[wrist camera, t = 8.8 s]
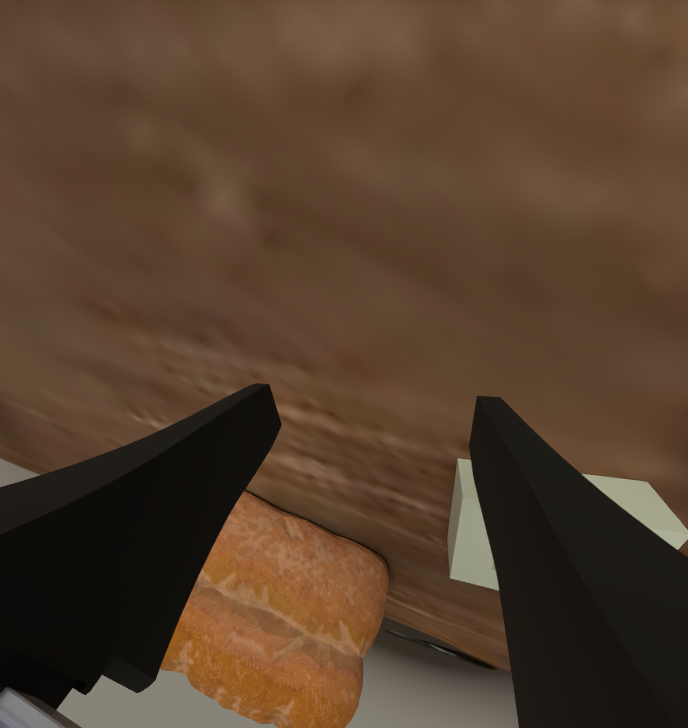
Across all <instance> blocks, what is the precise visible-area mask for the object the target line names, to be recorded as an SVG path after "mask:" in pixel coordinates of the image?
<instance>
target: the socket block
mask: <svg viewBox="0 0 688 728" xmlns="http://www.w3.org/2000/svg"><path fill="white" fill-rule="evenodd" d="M582 475H583V476H584V477H585V478H587V479H588V480H589V481H590V482H591V483H593V484H594V485H595V486H596V487H597V488H598V489H600V490H601V491H602V492H603V493H604V494H606V495H607V496H608V497H609V498H611V499H612V500H613V501H614V502H616V503H617V504H618V505H619V506H621V507H622V508H623V509H624V510H626V511H627V512H628V513H630V514H631V515H632V516H634V517H635V518H636V519H637V520H639V521H640V522H641V523H643V524H644V525H645V526H647V527H648V528H649V529H651V530H652V531H653V532H654V533H656V534H657V535H658V536H660V537H661V538H662V539H664V540H665V541H666V542H668V543H669V544H670V545H672V546H673V547H674V548H676V549H677V550H678V549H679V548H680V547H681V546H682V545H683V544H684V542H685V541H686V540H687V539H688V530H687V529H686V528H685V526H684V525H683V524H682V523H681V522H680V520H679V519H678V518H677V517H676V516H675V515H674V513H673V512H672V511H671V510H670V509H669V507H668V506H667V505H666V504H665V503H664V501H663V500H662V499H661V498H660V497H659V495H658V494H657V493H656V492H655V491H654V489H653V488H652V487H651V486H650V485H649V483H648V482H645V481H637V480H629V479H621V478H613V477H604V476H596V475H588V474H582ZM447 543H448V558H449V572H450V578H452V579H455V580H459V581H463V582H467V583H471V584H475V585H479V586H483V587H487V588H491V589H495V590H499V586H498V580H497V575H496V570H495V565H494V561H493V556H492V552H491V548H490V544H489V540H488V536H487V532H486V528H485V524H484V520H483V516H482V512H481V508H480V504H479V500H478V495H477V491H476V487H475V483H474V479H473V472H472V465H471V460H467V459H459V458H458V459H457V467H456V475H455V482H454V490H453V498H452V505H451V513H450V521H449V528H448V536H447Z"/></svg>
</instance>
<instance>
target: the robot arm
mask: <svg viewBox="0 0 688 728" xmlns="http://www.w3.org/2000/svg"><path fill="white" fill-rule="evenodd" d="M281 425H282V424H281V421H280V418H279V415H278V411H277V408H276V405H275V402H274V398H273V395H272V392H271V389H270V385H269V384H257V383H256V384H253V385H251V386H248V387H246V388H244V389H242V390H240V391H238V392H236V393H234V394H232V395H230V396H228V397H226V398H224V399H222V400H220V401H218V402H216V403H214V404H213V405H211V406H209V407H207V408H205V409H203V410H201V411H199V412H197V413H195V414H193V415H191V416H189V417H187V418H185V419H183V420H181V421H179V422H177V423H175V424H173V425H171V426H169V427H167V428H165V429H163V430H160V431H158V432H156V433H154V434H151V435H149V436H147V437H145V438H142V439H140V440H138V441H135V442H133V443H130V444H128V445H126V446H123V447H121V448H118V449H115V450H113V451H110V452H107V453H104V454H102V455H99V456H96V457H94V458H91V459H88V460H85V461H83V462H80V463H77V464H74V465H71V466H68V467H65V468H62V469H59V470H56V471H53V472H50V473H47V474H44V475H40V476H37V477H34V478H30V479H27V480H24V481H21V482H17V483H14V484H10V485H7V486H3V487H0V728H81V727H80V726H78V725H77V724H75V723H74V722H73V721H71V720H70V719H68V718H67V717H65V716H64V715H62V714H61V713H59V712H58V711H56V709H57V708H58V707H59V705H60V704H61V703H62V701H63V700H64V699H65V697H66V696H67V695H68V693H69V692H70V691H71V689H72V688H74V689H76V690H77V691H79V692H81V693H82V694H84V695H86V694H87V693H89V692H90V691H91V690H92V688H93V687H94V685H95V684H96V682H97V681H98V680H99V678H100V677H101V675H104V676H106V677H108V678H109V679H112V680H113V681H115V682H117V683H119V684H121V685H123V686H125V687H126V688H128V689H130V690H132V691H134V692H136V693H139V692H141V691H143V690H144V689H146V688H147V687H149V686H150V685H151V684H152V683H153V682H154V681H155V680H156V677H157V674H158V672H159V669H160V667H161V664H162V661H163V659H164V656H165V654H166V651H167V649H168V646H169V644H170V642H171V639H172V637H173V634H174V632H175V629H176V627H177V624H178V622H179V619H180V617H181V615H182V612H183V610H184V608H185V606H186V603H187V601H188V599H189V597H190V594H191V592H192V590H193V588H194V585H195V583H196V581H197V579H198V576H199V574H200V572H201V570H202V568H203V566H204V564H205V562H206V560H207V558H208V556H209V554H210V552H211V549H212V547H213V545H214V543H215V541H216V539H217V538H218V536H219V534H220V532H221V530H222V528H223V526H224V524H225V522H226V520H227V518H228V516H229V515H230V513H231V511H232V509H233V508H234V506H235V504H236V503H237V501H238V500H239V498H240V496H241V495H242V493H243V492H244V490H245V489H246V487H247V486H248V484H249V482H250V481H251V479H252V478H253V476H254V475H255V473H256V472H257V470H258V468H259V467H260V465H261V464H262V462H263V460H264V459H265V457H266V456H267V454H268V452H269V451H270V449H271V447H272V445H273V443H274V441H275V439H276V437H277V435H278V432H279V430H280V428H281ZM469 447H470V456H471V465H472V472H473V479H474V483H475V487H476V491H477V495H478V500H479V504H480V508H481V512H482V516H483V520H484V524H485V528H486V532H487V536H488V540H489V544H490V548H491V552H492V556H493V561H494V565H495V570H496V575H497V580H498V586H499V592H500V599H501V605H502V611H503V618H504V624H505V631H506V638H507V644H508V651H509V658H510V665H511V672H512V679H513V686H514V693H515V701H516V708H517V716H518V723H519V728H688V557H687V556H685V555H684V554H683V553H681V552H680V551H678V550H677V549H676V548H674V547H673V546H672V545H670V544H669V543H668V542H666V541H665V540H664V539H662V538H661V537H660V536H658V535H657V534H656V533H654V532H653V531H652V530H651V529H649V528H648V527H647V526H645V525H644V524H643V523H641V522H640V521H639V520H637V519H636V518H635V517H634V516H632V515H631V514H630V513H628V512H627V511H626V510H624V509H623V508H622V507H621V506H619V505H618V504H617V503H616V502H614V501H613V500H612V499H611V498H609V497H608V496H607V495H606V494H604V493H603V492H602V491H601V490H600V489H598V488H597V487H596V486H595V485H594V484H593V483H591V482H590V481H589V480H588V479H587V478H585V477H584V476H583V475H582V474H581V473H580V472H578V471H577V470H576V469H575V468H574V467H572V466H571V465H570V464H569V463H568V462H567V461H566V460H565V459H563V458H562V457H561V456H560V455H559V454H558V453H557V452H556V451H555V450H554V449H553V448H551V447H550V446H549V445H548V444H547V443H546V442H545V441H544V440H543V439H542V438H541V437H540V436H539V435H538V434H537V433H536V432H534V431H533V430H532V429H531V428H530V427H529V426H528V425H527V424H526V423H525V422H524V421H523V420H522V419H521V418H520V417H519V416H518V415H517V414H516V413H515V412H514V411H513V410H512V409H511V408H510V407H509V406H508V405H507V404H506V403H505V402H504V401H503V400H502V399H501V398H500V397H486V396H477V399H476V406H475V412H474V418H473V425H472V431H471V438H470V444H469Z"/></svg>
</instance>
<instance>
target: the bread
mask: <svg viewBox="0 0 688 728" xmlns="http://www.w3.org/2000/svg"><path fill="white" fill-rule="evenodd" d="M388 589H389V575H388V570H387V566H386V562H385V561H384V560H383V559H382V558H381V557H380V556H379V555H378V554H376V553H375V552H373V551H371V550H370V549H368V548H366V547H364V546H362V545H360V544H358V543H356V542H354V541H352V540H349V539H347V538H344V537H340V536H336V535H334V534H332V533H331V532H329V531H327V530H325V529H323V528H321V527H319V526H317V525H315V524H313V523H311V522H310V521H308V520H305V519H302V518H300V517H297V516H294V515H291V514H289V513H286V512H284V511H282V510H280V509H278V508H276V507H274V506H272V505H270V504H269V503H267V502H265V501H264V500H261V499H259V498H257V497H255V496H253V495H251V494H249V493H247V492H246V491H244V492H243V493H242V495H241V496H240V498H239V500H238V501H237V503H236V504H235V506H234V508H233V509H232V511H231V513H230V515H229V516H228V518H227V520H226V522H225V524H224V526H223V528H222V530H221V532H220V534H219V536H218V538H217V539H216V541H215V543H214V545H213V547H212V549H211V552H210V554H209V556H208V558H207V560H206V562H205V564H204V566H203V568H202V570H201V572H200V574H199V576H198V579H197V581H196V583H195V585H194V588H193V590H192V592H191V594H190V597H189V599H188V601H187V603H186V606H185V608H184V610H183V612H182V615H181V617H180V619H179V622H178V624H177V627H176V629H175V632H174V634H173V637H172V639H171V642H170V644H169V646H168V649H167V651H166V654H165V656H164V659H163V661H162V664H161V667H160V669H162V670H166V671H174V672H180V673H183V674H184V675H186V677H187V678H188V680H189V682H190V683H191V685H192V686H193V687H194V688H196V689H197V690H199V691H200V692H202V693H203V694H205V695H206V696H208V697H210V698H212V699H215V700H217V702H218V703H219V704H220V705H221V706H222V707H223V708H226V709H230V710H233V711H235V712H237V713H239V714H240V715H242V716H244V717H247V718H250V719H252V720H254V721H256V722H258V723H260V724H270V723H273V724H275V725H276V726H277V727H278V728H345V727H346V726H347V724H348V723H349V722H350V721H351V719H352V718H353V715H354V713H355V711H356V709H357V707H358V704H359V699H360V695H361V691H362V684H363V660H364V658H365V656H366V654H367V653H368V651H369V649H370V647H371V645H372V643H373V641H374V639H375V637H376V635H377V633H378V631H379V628H380V625H381V622H382V618H383V615H384V610H385V603H386V598H387V594H388Z"/></svg>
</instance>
